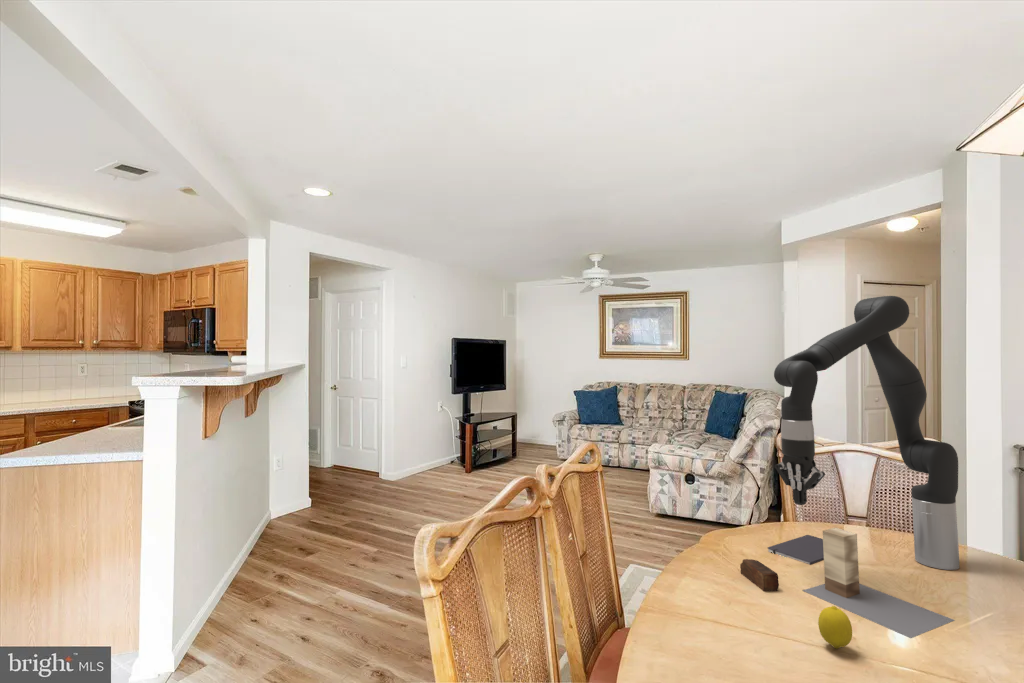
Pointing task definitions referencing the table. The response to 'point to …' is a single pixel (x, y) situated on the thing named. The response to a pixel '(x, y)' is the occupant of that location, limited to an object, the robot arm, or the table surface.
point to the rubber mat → (885, 610)
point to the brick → (760, 575)
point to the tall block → (841, 562)
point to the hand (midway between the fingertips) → (799, 504)
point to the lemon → (835, 627)
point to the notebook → (801, 549)
